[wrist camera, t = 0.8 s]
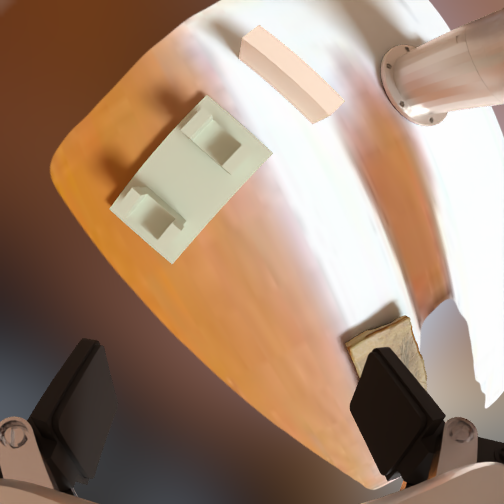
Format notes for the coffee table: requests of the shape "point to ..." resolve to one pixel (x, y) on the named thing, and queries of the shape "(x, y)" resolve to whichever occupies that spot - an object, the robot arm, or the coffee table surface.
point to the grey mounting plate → (189, 178)
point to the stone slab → (397, 339)
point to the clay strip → (289, 75)
